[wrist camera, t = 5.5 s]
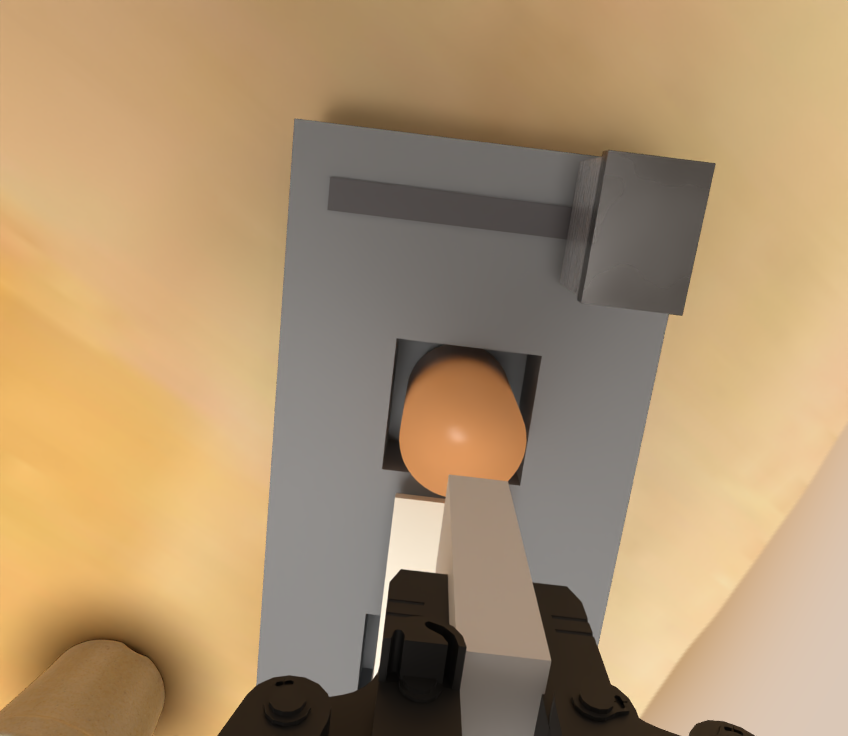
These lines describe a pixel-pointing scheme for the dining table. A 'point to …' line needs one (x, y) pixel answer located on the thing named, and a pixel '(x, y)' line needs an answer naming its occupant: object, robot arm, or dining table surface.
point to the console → (399, 353)
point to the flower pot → (89, 695)
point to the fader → (635, 230)
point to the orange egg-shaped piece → (460, 419)
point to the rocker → (411, 543)
